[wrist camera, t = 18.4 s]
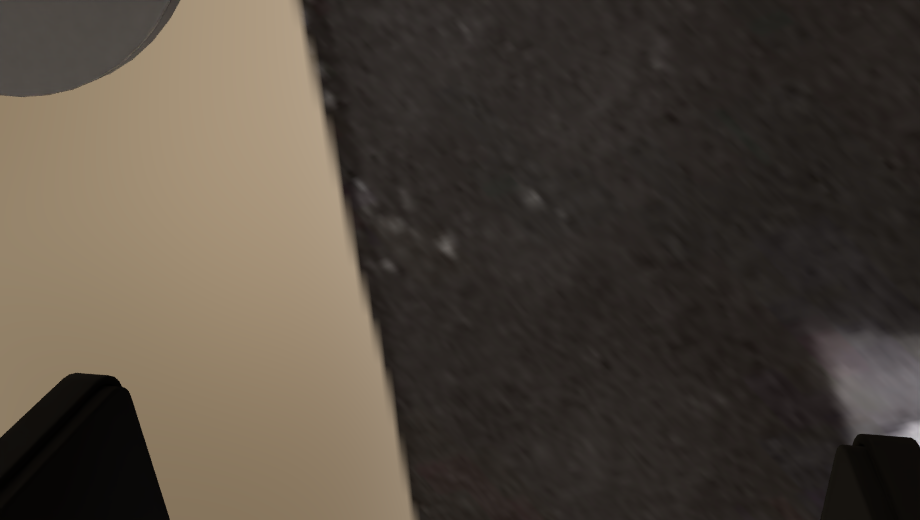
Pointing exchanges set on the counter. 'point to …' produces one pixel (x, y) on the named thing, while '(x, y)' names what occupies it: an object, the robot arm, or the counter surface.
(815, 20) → the counter surface
